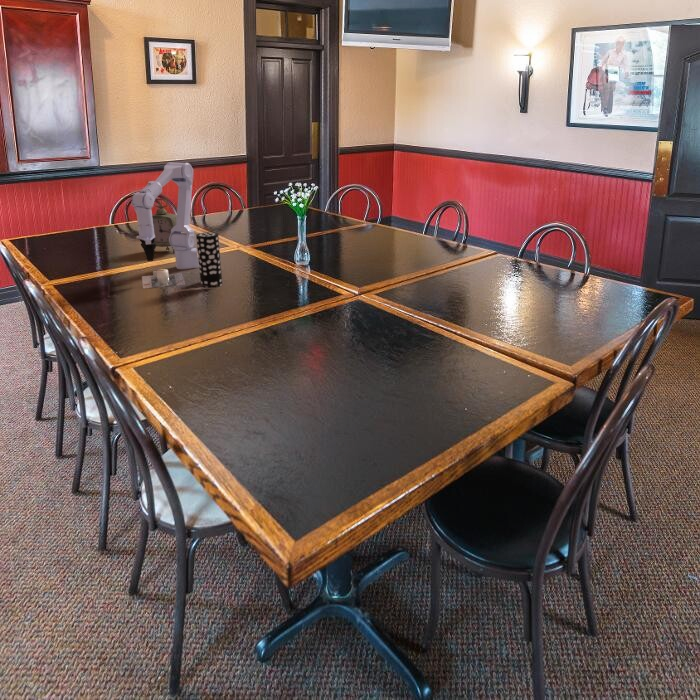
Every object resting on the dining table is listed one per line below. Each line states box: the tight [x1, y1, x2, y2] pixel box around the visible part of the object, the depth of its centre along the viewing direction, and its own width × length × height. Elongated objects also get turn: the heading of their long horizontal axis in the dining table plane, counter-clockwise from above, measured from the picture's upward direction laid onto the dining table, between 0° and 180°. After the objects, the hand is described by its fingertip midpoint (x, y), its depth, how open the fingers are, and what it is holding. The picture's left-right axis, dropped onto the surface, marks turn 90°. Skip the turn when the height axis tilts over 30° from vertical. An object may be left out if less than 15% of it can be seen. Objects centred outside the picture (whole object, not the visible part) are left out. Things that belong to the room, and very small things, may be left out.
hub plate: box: [141, 272, 186, 289], centre depth 263 cm, size 16×18×2 cm
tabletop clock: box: [152, 198, 182, 254], centre depth 308 cm, size 14×9×25 cm, turn 80°
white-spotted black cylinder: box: [195, 231, 223, 289], centre depth 256 cm, size 8×8×20 cm
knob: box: [152, 268, 170, 284], centre depth 258 cm, size 6×4×5 cm
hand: (149, 258), depth 261 cm, fingers open, 7 cm apart
